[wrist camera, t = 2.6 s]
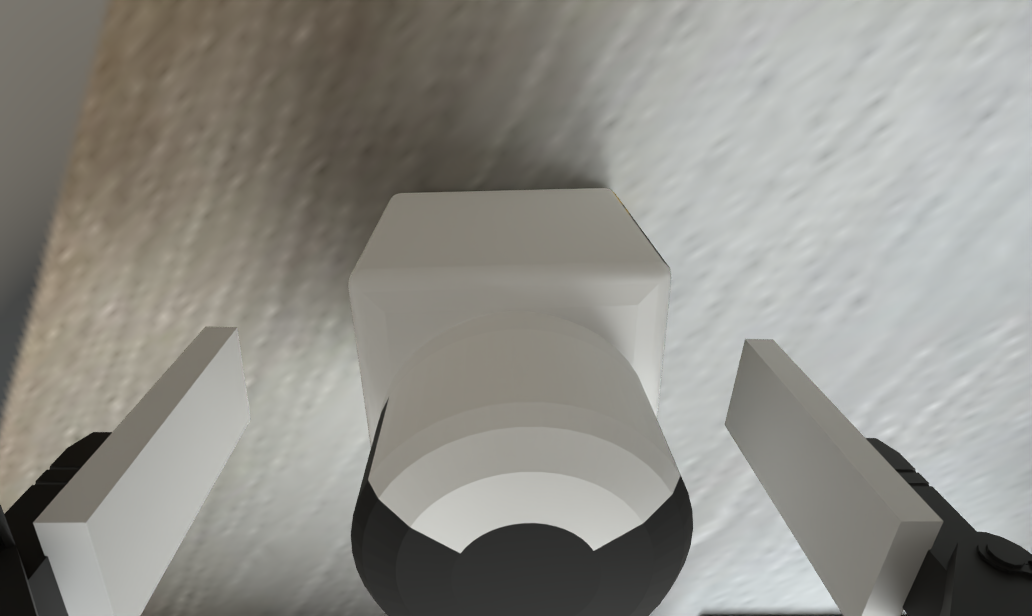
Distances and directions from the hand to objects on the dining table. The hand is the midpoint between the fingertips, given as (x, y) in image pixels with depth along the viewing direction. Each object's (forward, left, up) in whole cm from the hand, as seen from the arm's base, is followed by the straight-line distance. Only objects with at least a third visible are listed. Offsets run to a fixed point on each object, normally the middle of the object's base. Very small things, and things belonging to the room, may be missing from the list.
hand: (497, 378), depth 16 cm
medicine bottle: (0, 0, -6) cm, 6 cm away
